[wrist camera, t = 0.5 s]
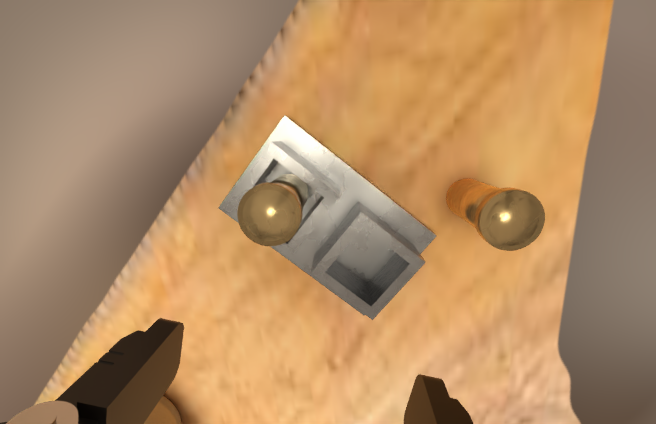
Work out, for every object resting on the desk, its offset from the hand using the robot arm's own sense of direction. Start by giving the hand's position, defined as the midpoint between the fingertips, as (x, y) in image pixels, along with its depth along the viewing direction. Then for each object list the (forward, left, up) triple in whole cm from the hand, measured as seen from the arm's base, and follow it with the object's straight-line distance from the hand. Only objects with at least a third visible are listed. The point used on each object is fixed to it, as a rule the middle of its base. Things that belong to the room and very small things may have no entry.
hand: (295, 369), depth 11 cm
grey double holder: (+1, +1, -26) cm, 26 cm away
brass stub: (-10, +11, -26) cm, 30 cm away
